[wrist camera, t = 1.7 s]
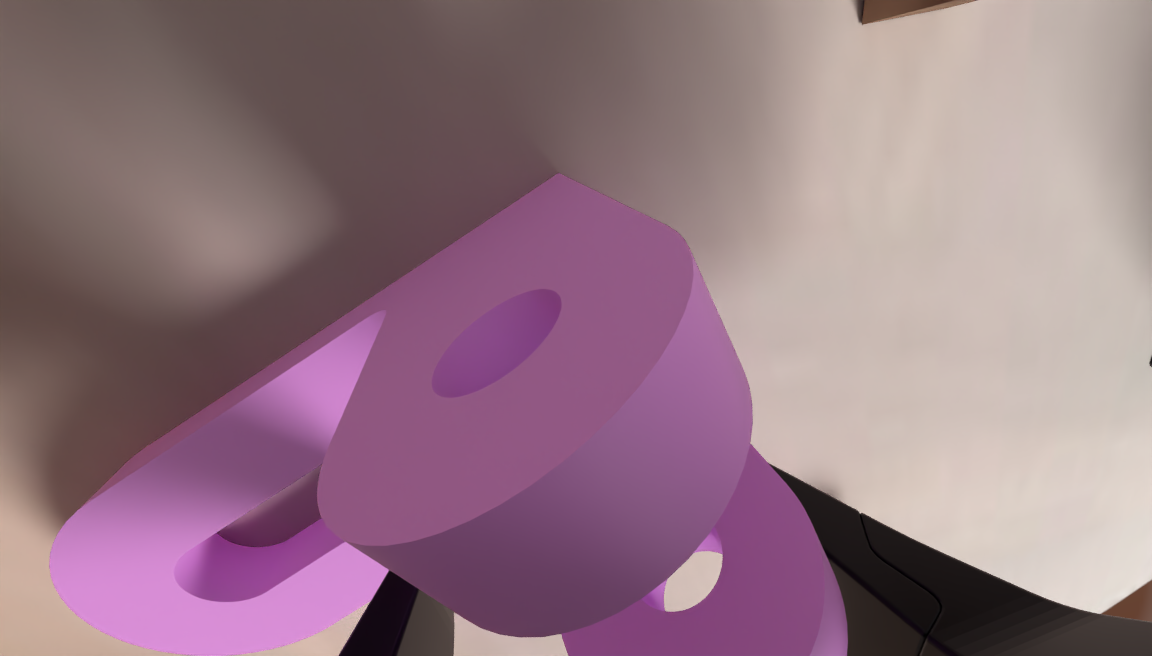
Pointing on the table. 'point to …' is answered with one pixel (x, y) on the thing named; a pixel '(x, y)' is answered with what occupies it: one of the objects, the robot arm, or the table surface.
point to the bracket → (478, 464)
